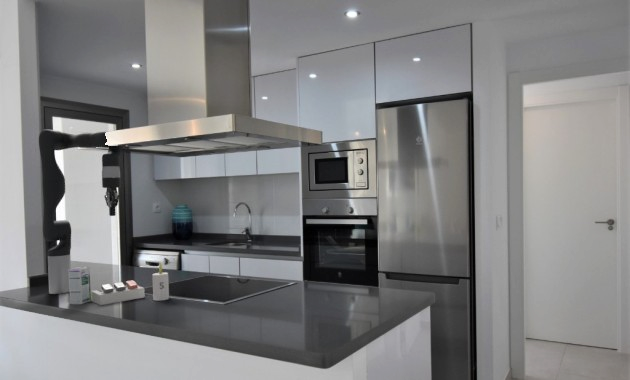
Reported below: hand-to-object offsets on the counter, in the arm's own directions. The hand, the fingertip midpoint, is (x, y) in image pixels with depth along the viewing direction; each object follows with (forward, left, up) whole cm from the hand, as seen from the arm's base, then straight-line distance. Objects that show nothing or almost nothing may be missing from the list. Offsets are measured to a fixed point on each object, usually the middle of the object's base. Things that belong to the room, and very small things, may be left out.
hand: (112, 215), depth 211 cm
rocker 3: (+14, +2, -29) cm, 32 cm away
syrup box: (+6, -16, -35) cm, 39 cm away
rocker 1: (+14, -8, -29) cm, 33 cm away
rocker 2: (+14, -2, -29) cm, 32 cm away
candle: (+26, +10, -35) cm, 45 cm away
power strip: (+11, 0, -35) cm, 37 cm away
